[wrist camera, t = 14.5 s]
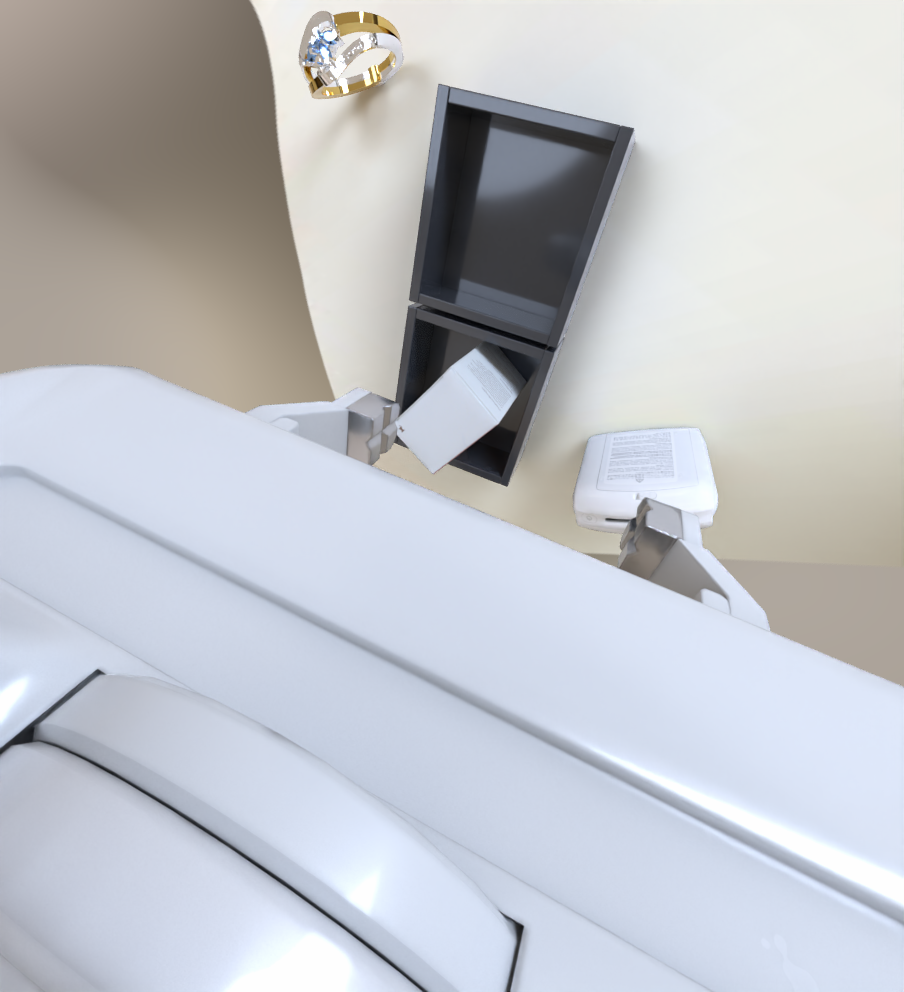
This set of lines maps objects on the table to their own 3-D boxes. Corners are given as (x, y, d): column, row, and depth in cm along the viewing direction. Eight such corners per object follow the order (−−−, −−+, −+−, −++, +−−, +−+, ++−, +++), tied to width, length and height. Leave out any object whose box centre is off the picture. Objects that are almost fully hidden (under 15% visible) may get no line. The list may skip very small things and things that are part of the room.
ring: (349, 121, 35) (285, 101, 29) (335, 69, 33) (264, 35, 27) (425, 86, 32) (372, 55, 26) (414, 28, 30) (355, -20, 24)
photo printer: (586, 471, 43) (570, 545, 34) (582, 432, 41) (563, 498, 32) (704, 465, 39) (724, 548, 29) (705, 421, 37) (728, 494, 27)
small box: (470, 429, 45) (431, 477, 37) (434, 387, 44) (386, 427, 36) (529, 382, 40) (500, 425, 32) (491, 334, 39) (450, 366, 31)
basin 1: (635, 141, 30) (634, 128, 25) (566, 332, 37) (556, 348, 33) (466, 101, 32) (438, 83, 27) (434, 290, 39) (408, 300, 35)
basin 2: (564, 337, 38) (554, 353, 33) (520, 460, 45) (507, 487, 41) (434, 295, 40) (407, 305, 35) (412, 420, 48) (389, 441, 43)
